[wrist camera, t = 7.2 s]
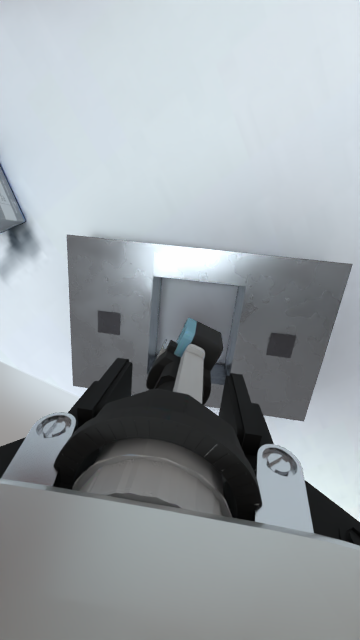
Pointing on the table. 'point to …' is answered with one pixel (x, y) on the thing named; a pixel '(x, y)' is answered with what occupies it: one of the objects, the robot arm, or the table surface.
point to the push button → (166, 439)
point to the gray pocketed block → (247, 326)
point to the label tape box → (8, 206)
